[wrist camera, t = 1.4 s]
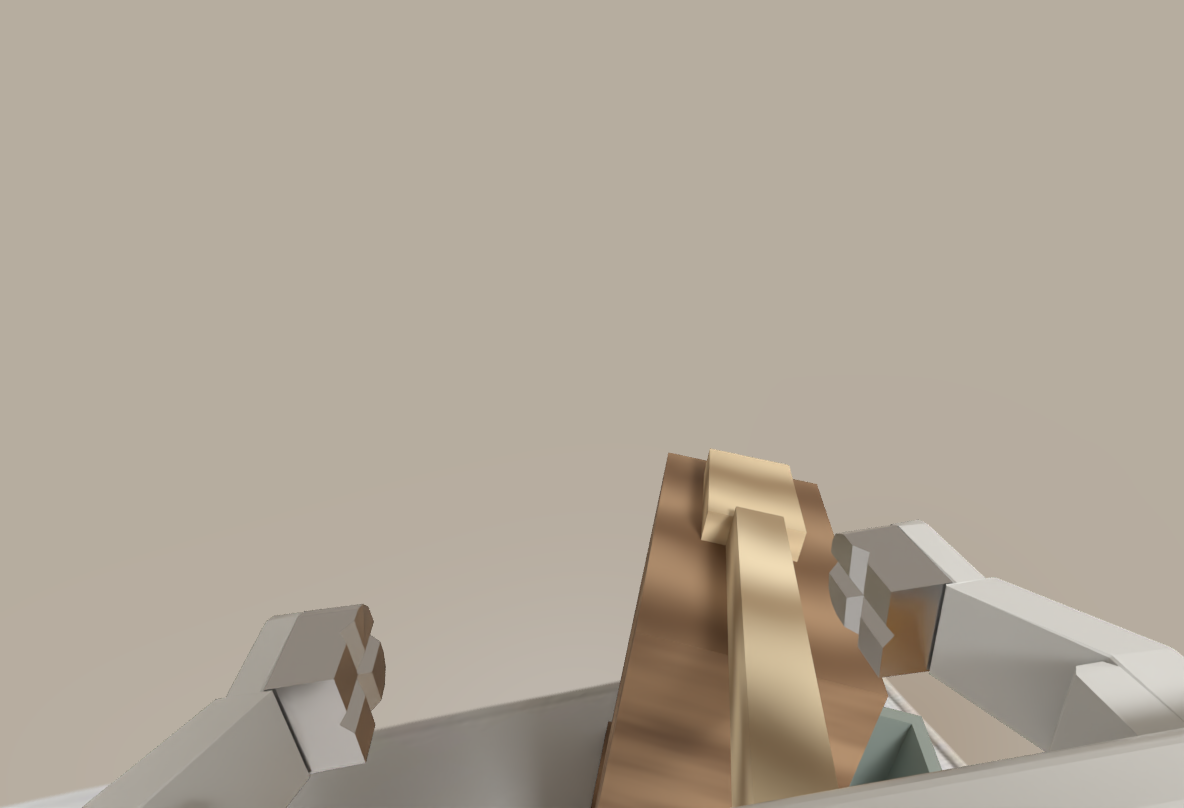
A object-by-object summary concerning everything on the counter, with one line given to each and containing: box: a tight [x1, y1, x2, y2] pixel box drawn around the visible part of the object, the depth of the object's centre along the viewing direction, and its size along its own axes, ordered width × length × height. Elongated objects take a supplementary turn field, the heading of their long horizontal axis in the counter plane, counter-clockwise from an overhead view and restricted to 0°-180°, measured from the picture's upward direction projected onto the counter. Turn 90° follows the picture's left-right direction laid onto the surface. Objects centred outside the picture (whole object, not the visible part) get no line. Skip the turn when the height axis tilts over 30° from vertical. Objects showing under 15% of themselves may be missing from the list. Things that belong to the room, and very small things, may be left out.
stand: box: [591, 453, 888, 808], centre depth 37 cm, size 19×11×27 cm, turn 169°
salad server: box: [701, 449, 839, 808], centre depth 27 cm, size 24×5×2 cm, turn 169°
